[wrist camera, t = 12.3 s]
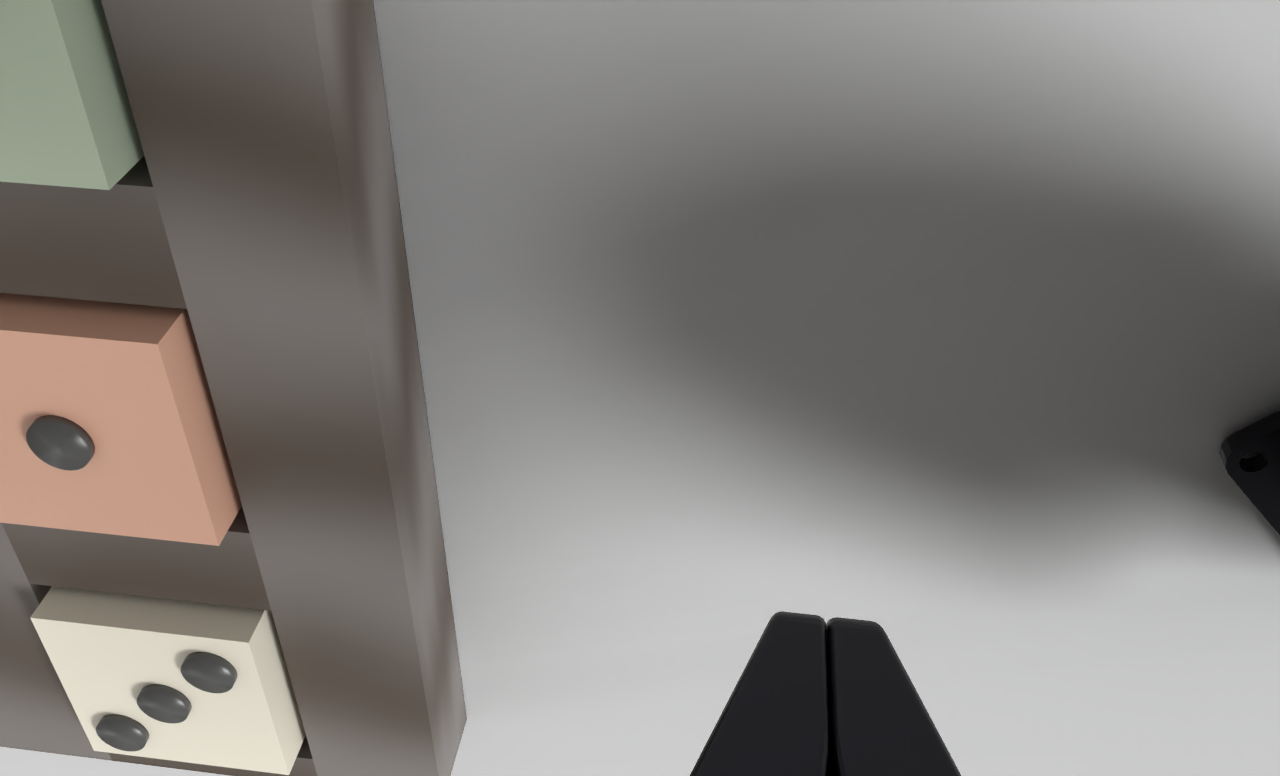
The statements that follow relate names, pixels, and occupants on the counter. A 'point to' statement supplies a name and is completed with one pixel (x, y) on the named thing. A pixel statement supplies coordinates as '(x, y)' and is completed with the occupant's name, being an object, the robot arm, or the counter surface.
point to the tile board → (261, 376)
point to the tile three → (174, 678)
